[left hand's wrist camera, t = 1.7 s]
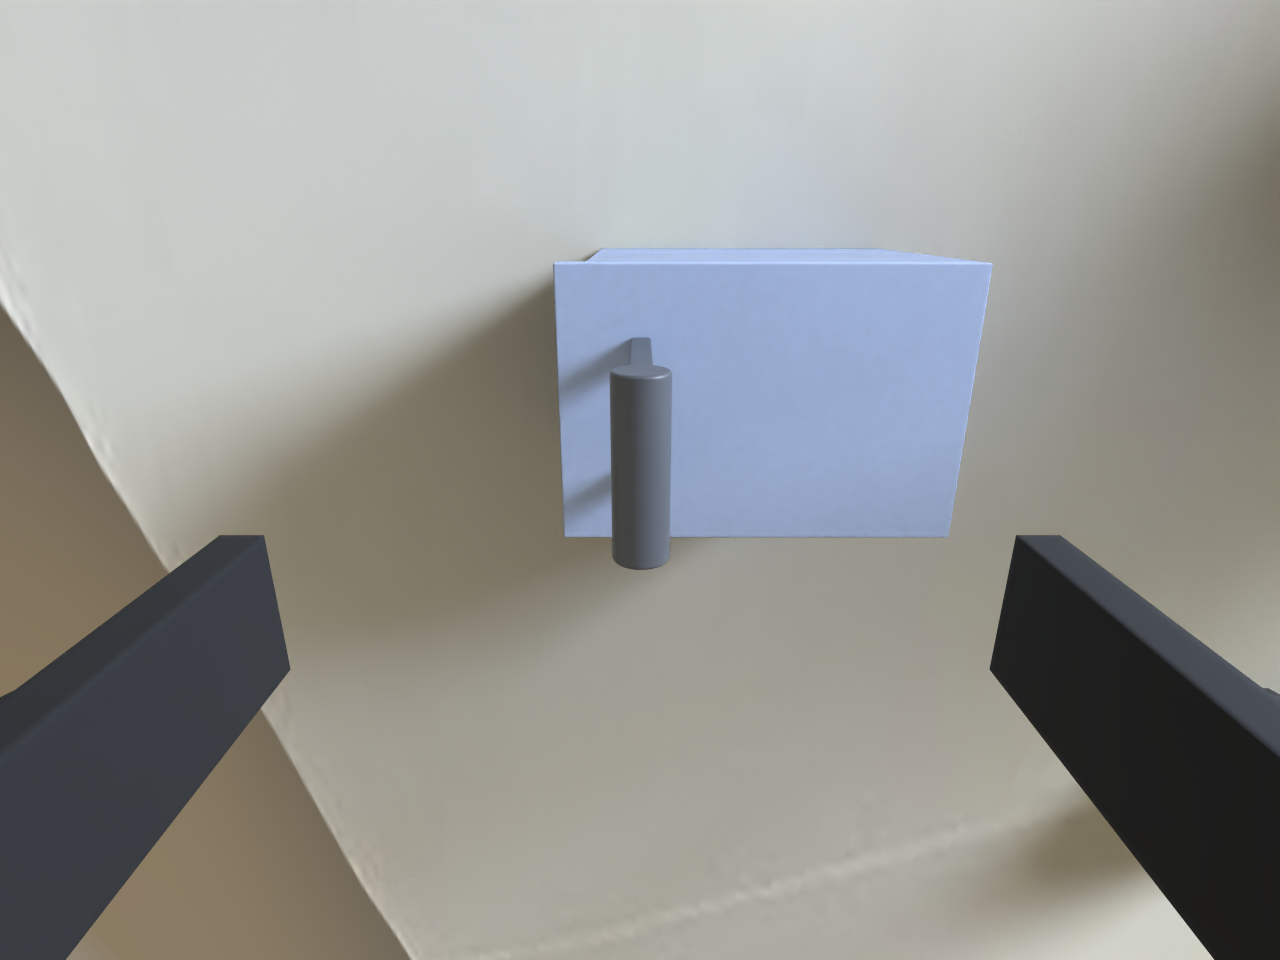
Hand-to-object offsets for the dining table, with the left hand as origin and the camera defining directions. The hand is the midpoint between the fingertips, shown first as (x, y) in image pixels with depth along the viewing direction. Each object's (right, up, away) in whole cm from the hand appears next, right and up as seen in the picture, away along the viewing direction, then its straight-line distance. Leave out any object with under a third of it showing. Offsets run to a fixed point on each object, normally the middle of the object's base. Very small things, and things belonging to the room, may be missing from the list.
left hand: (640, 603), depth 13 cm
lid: (+4, +5, +14) cm, 16 cm away
